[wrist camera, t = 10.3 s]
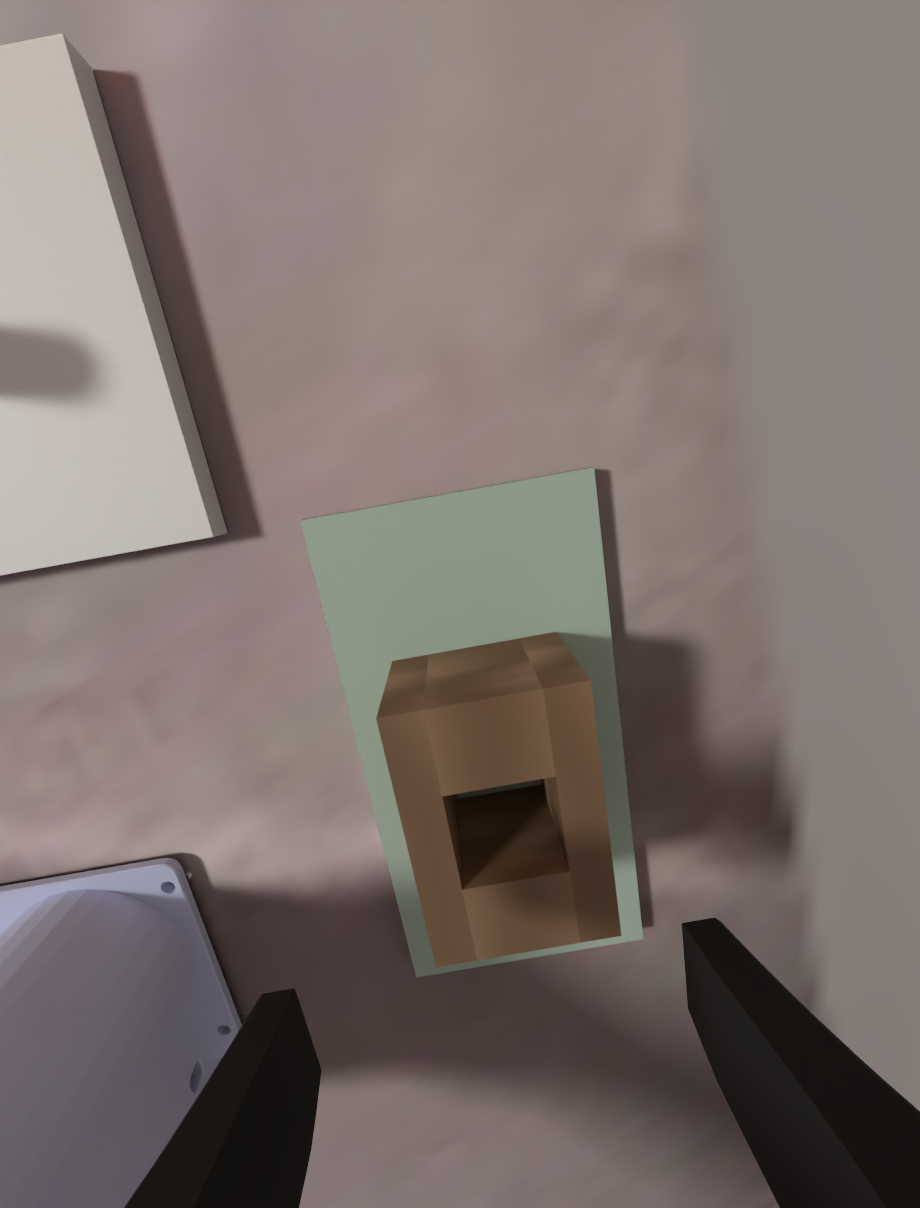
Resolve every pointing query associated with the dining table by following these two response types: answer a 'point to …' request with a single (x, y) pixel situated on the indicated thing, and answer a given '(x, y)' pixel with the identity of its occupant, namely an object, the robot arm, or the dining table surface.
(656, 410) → the dining table surface
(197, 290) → the dining table surface
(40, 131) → the stand
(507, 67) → the dining table surface
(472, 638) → the mat
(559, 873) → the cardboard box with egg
